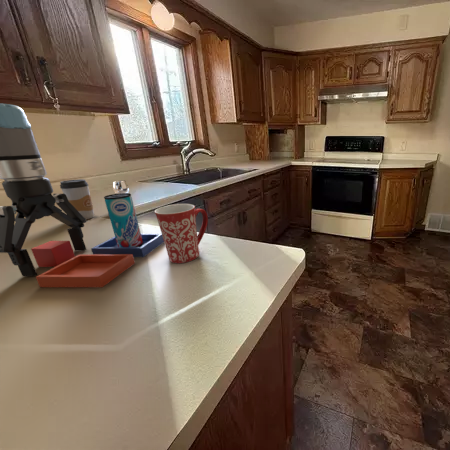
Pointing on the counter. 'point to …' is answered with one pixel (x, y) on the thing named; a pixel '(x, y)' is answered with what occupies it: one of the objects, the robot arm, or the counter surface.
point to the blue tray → (112, 248)
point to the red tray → (86, 270)
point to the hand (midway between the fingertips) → (58, 261)
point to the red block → (53, 253)
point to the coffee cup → (78, 196)
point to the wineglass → (120, 187)
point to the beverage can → (123, 220)
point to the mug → (181, 231)
